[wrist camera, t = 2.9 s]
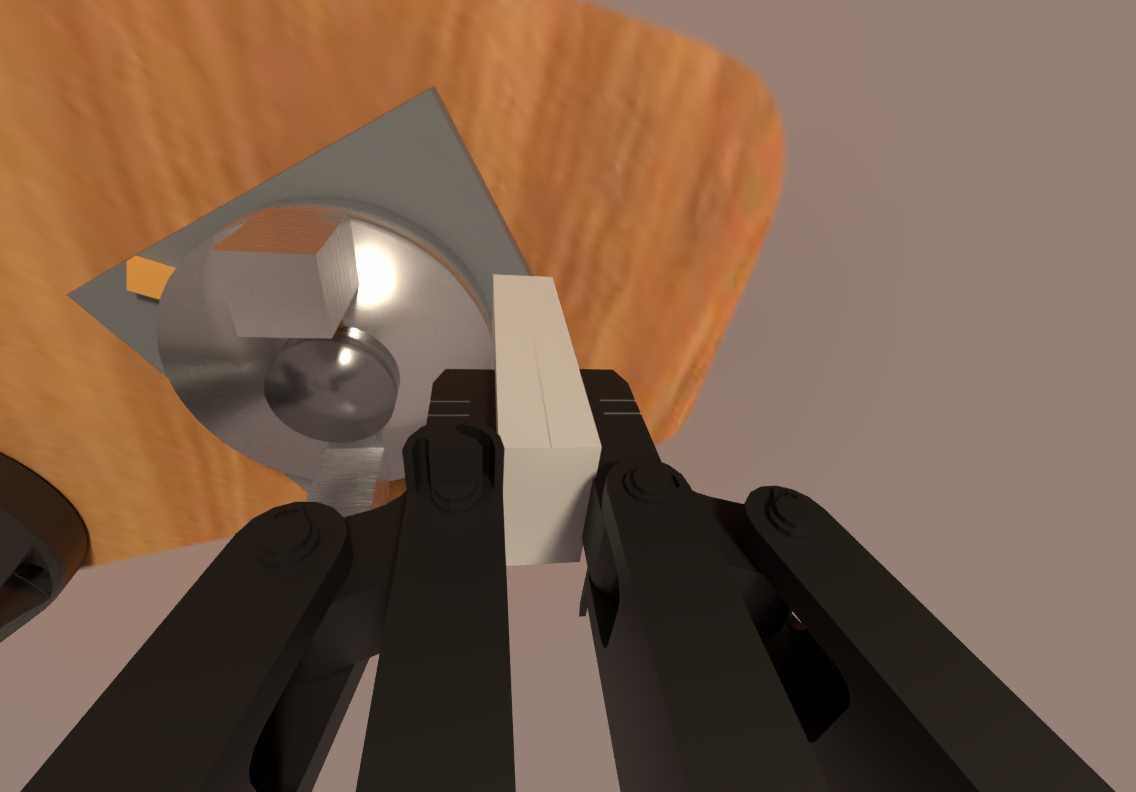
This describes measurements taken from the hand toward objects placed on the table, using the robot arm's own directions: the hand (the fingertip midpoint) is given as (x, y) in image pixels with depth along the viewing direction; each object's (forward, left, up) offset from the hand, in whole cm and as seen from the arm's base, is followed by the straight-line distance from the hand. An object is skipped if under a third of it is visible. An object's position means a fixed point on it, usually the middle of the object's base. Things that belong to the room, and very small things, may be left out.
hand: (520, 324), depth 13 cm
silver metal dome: (-8, -1, -8) cm, 11 cm away
